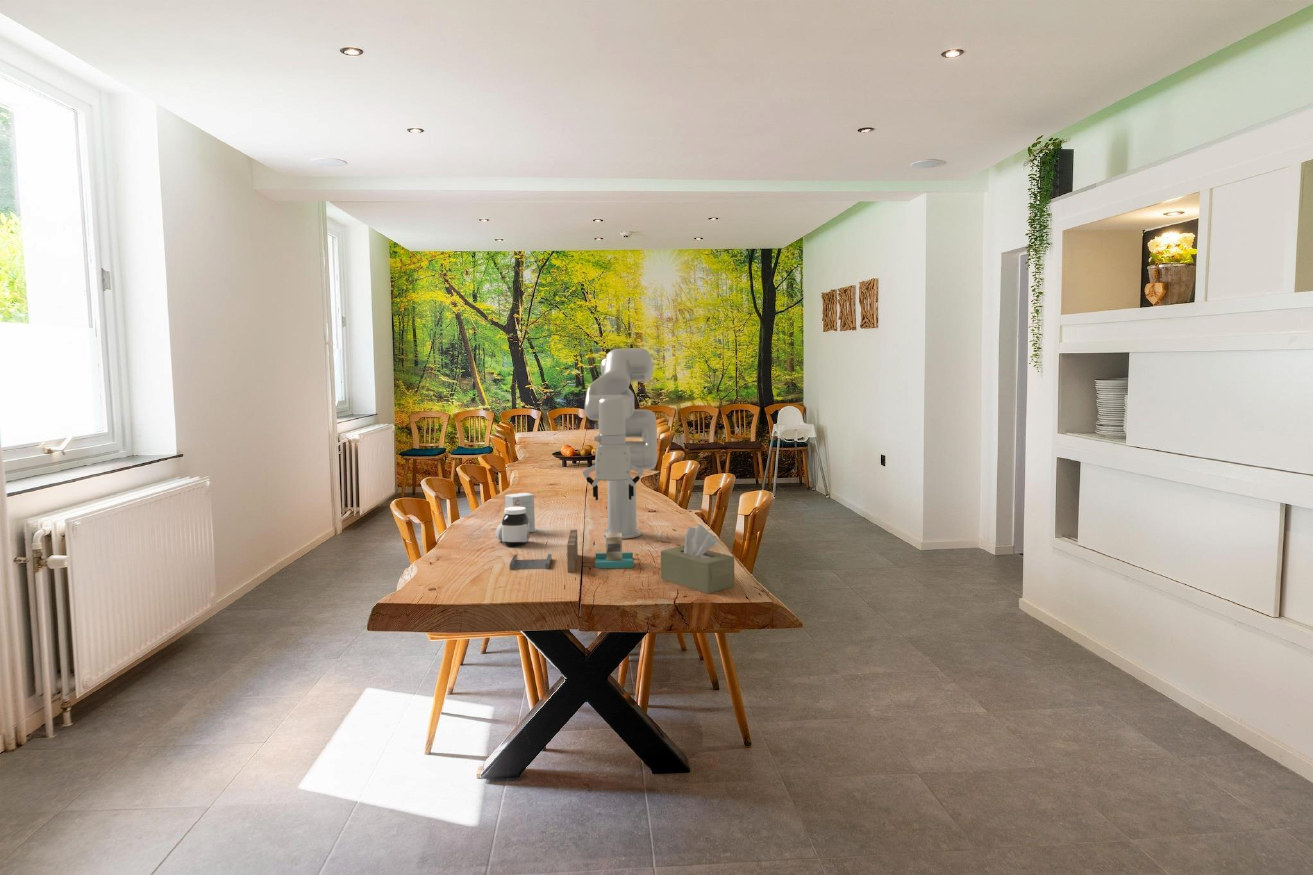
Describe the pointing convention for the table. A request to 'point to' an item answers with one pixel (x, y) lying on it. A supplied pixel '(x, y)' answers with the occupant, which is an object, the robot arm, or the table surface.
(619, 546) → the block
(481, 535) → the table surface
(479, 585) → the table surface
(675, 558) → the tissue box
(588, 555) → the table surface
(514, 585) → the table surface
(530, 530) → the small box
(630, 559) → the teal square tray
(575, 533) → the door panel
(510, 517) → the spread jar
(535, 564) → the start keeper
